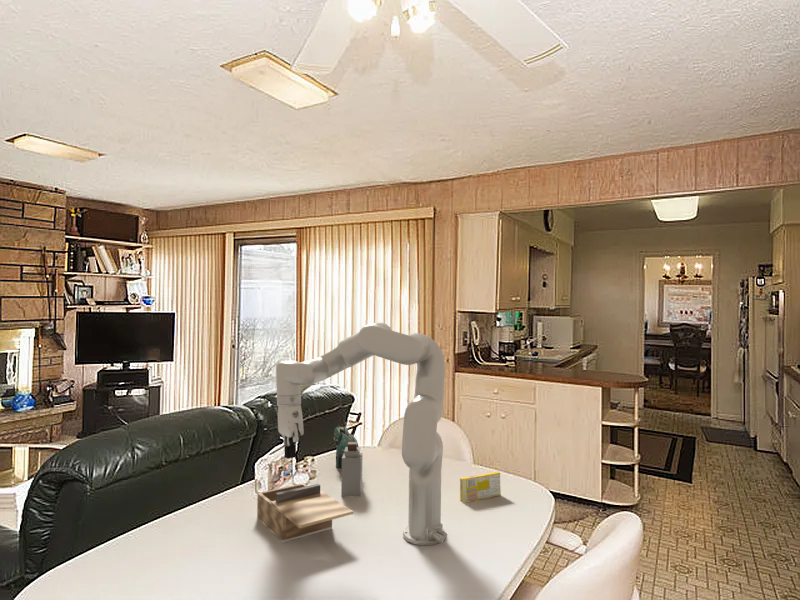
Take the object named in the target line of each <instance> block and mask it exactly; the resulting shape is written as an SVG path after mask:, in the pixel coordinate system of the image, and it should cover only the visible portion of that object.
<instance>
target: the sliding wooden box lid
mask: <svg viewBox="0 0 800 600" xmlns="http://www.w3.org/2000/svg"><path fill="white" fill-rule="evenodd" d="M271 505H272V506H273V507H275V508H276V509H277V510H278V511H279V512H281V513H282V514H283V515H284V516H285V517H286V518H288V519H289V520H290V521H291V522H292V523H294V524H295V525H296V526H297V527H298V528H303V527H307V526H310V525H314V524H318V523H321V522H325V521H329V520H332V521H333V520H336V519H339V518H344V517H347V516H351V515H353V514H354V511H353V510H352V509H350V508H349V507H347V506H345V505H344V504H343V503H341V502H340V501H338V500H337V499H335V498H333V497H332V496H330V495H328V493H326V492H324V491H322V490H321V484H319V483H315V484H310V485H307V486H306V487H301V488H297V489H292V490H288V491H283V492H278V493H276V501H271Z"/></svg>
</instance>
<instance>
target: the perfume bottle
mask: <svg viewBox="0 0 800 600" xmlns="http://www.w3.org/2000/svg"><path fill="white" fill-rule="evenodd" d="M357 443H358V441H357V442H348V444H347V446H348V447H346V448H345V450H344V454H343V456H342V469H341V491H340V492H341V493H340V494H341V495H340V496H341V497H361V496H362V495H361V494H362V491H363V452H361V447H360V446H359V447H357ZM359 452H360V453H359Z"/></svg>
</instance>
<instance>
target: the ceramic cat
mask: <svg viewBox="0 0 800 600" xmlns="http://www.w3.org/2000/svg"><path fill="white" fill-rule="evenodd" d="M336 424H337V425H336V427H335V428H334V431H333V441H334V442H335V444H336V449H335V451H336V452H335V468H336V469H338V470H342V456H343V454H344V450H345V448H346V447H348V446H347V444H348V442H357V447H360V446H359V442H358V440H357V438H356V437H355V436H354V435H353V434H351V433H349V429H348V428H347V427H348V424H347V421H344V423H343V425H344V426H340V425H339V423H336ZM359 453H361V451H360V452H359Z"/></svg>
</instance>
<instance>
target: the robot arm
mask: <svg viewBox="0 0 800 600" xmlns="http://www.w3.org/2000/svg"><path fill="white" fill-rule="evenodd" d="M373 356H376V357H378V358H382V359H384V360H388V361H391V362H394V363H397V364H401V365H404V366H405V365H406V366H412V365H416V367H417V368H416V375H415V387H414V396H413V399H412V400H411V401H410V402H409V403H408V404H407V406H406V407H405V410H404V413H403V414H404V416H403V424H402V427H403V428H402V440H401V457H402V460H403V463H404V464H405V466H407V467H408V469H409V470H408V471H409V472H408V473H409V474H408V526H406V527H405V528H404V529H403V531H402V532H403V533H402V535H403V538H404V539H405V540H406V541H407V542H409V543H411V544H413V545H417V546H418V545H419V546H433V545H438V544H440V543H441V544H442V543H443V542H444V540H445V539H446V538H447V537H448V533H447V532H446V530H445V529H444V528H443V523H442V522H441V521H442V518H441V516H442V508H441V507H442V470H443V469H442V466H443V455H444V454H443V453H444V445H443V440H442V437H441V435H440V433H439V432H438V431H437V429H438V423H439V422H440V421H441V419H442V417H443V413H444V397H445V396H444V395H445V375H446V373H445V372H446V363H445V362H446V361H445V357H444V353H443V350H442V349H441V348H440V346H439V344H438V343H437V342H436V340H434V339H433V338H431V337H430V336H428V335H426V334H423V333H417V332H415V333H409V334H406V333H402V332H398V331H395V330H392V328H391V327H390V326H389V325H388V324H386V323H384V322H374V323H368V324H366V325H364V326H362V327H361V329H359V331H358V332H356V333H354V334H353V335H350V336H348V337H346V338H345V339H343V340H341V341H340V342H338V345H337V346H336V347H334V348H333V349H332V350H330V351H328V352H326V353H324V354H322V355H321V356H319V357H316V358H313V359H308V360H305V361H300V362H298V361H297V360H282V361H278V362H276V367H275V379H276V381H275V382H276V406H278V407H277V409H278V410H277V431H278V433H279V434H280V435H281V437H282V439H283V445H284V446H283V447H284V458H285V459H287V460H289V459H293V458H296V457H297V443H298V442H299V438H300V437H299V436H303V435H304V434H305V433H304V419H303V411H302V405H301V404H302V397H301V396H302V394H301V393H302V392H301V390H302V388H301V387H302V386H311V385H314V384H317V383H320V382H322V381H324V380H327V379H329V378H331V377H333V376H335V375H337V374H339V373H340V372H342V371H344V370H346V369H348V368H352V367H353V366H356V365H357V364H359V363H361V362H364V361H365V360H367V359H369V358H371V357H373Z"/></svg>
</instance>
